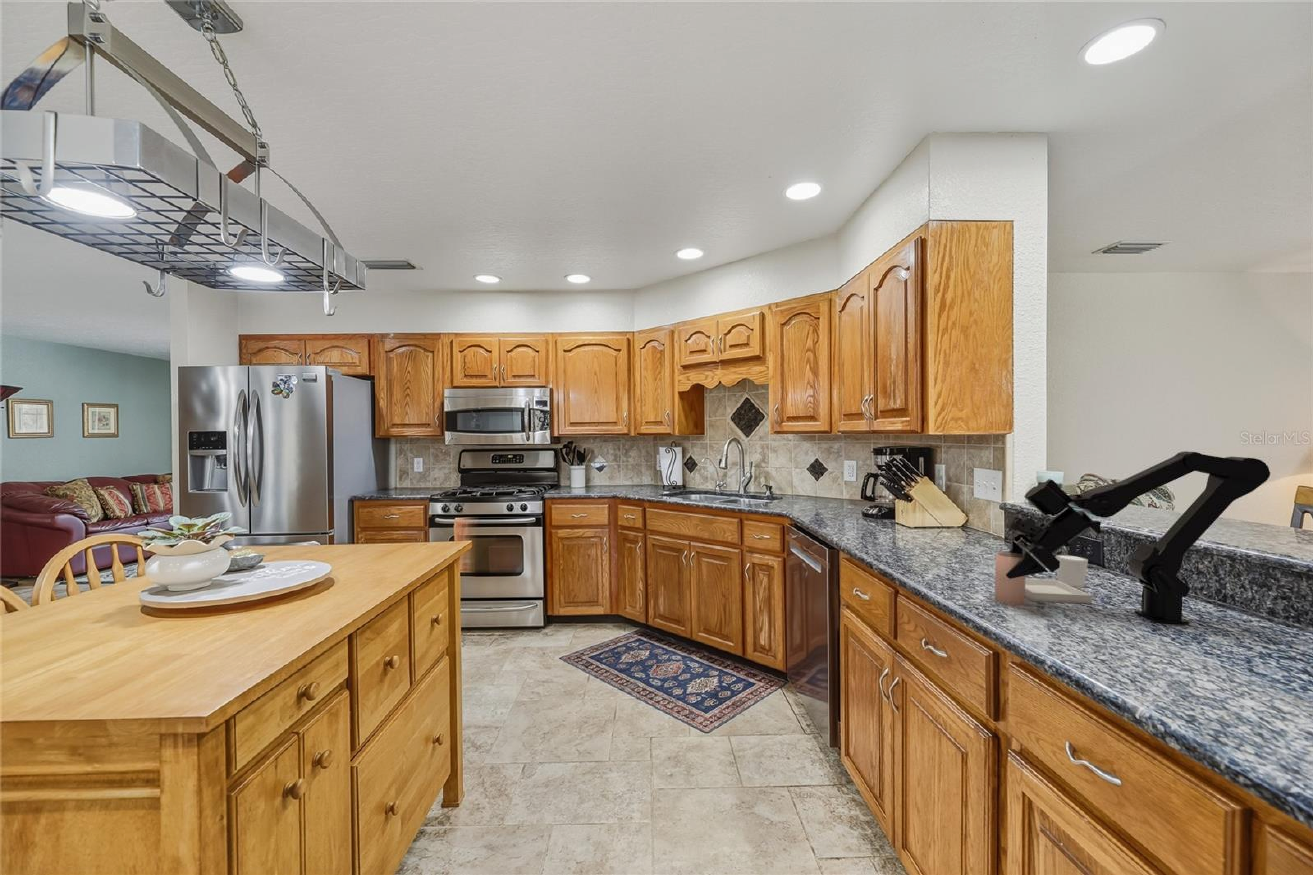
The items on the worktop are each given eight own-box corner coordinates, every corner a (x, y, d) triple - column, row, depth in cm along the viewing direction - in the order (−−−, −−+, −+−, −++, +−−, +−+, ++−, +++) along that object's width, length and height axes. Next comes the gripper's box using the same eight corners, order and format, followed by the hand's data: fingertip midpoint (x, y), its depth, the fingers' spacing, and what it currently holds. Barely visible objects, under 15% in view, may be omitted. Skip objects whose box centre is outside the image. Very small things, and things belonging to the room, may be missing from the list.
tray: (1091, 603, 125) (1091, 595, 125) (1032, 601, 127) (1033, 593, 127) (1055, 587, 138) (1056, 579, 138) (1002, 585, 140) (1003, 577, 139)
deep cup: (1030, 605, 123) (1031, 558, 123) (1003, 604, 124) (1004, 557, 124) (1015, 597, 129) (1016, 552, 129) (989, 596, 130) (990, 551, 130)
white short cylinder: (1075, 580, 145) (1076, 555, 145) (1094, 588, 138) (1094, 561, 138) (1049, 579, 146) (1049, 554, 146) (1065, 587, 139) (1066, 560, 139)
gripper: (1021, 499, 133) (970, 539, 138) (1043, 509, 116) (983, 554, 120) (1058, 533, 130) (1004, 573, 135) (1087, 549, 113) (1024, 593, 118)
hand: (1003, 572), depth 127 cm, fingers open, 8 cm apart
